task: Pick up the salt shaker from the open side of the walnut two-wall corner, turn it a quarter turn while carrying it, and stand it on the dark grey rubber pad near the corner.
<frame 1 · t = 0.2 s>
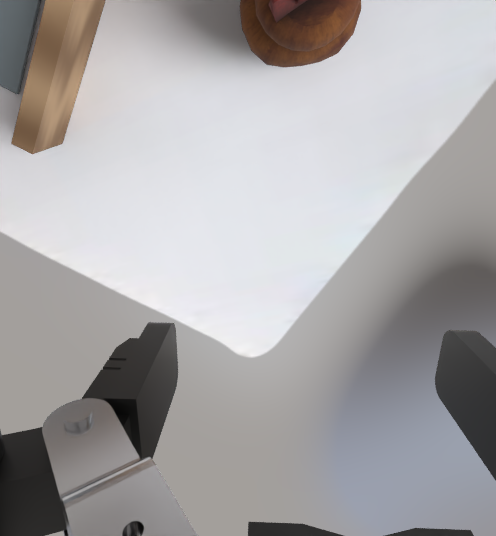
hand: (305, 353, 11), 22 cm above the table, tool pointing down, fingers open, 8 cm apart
wooden figurine: (292, 20, 27), on the table
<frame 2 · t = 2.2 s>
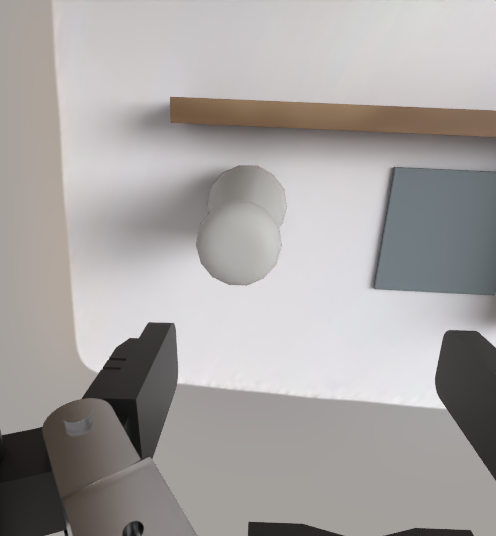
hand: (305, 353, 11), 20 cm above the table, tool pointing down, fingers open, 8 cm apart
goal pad: (446, 233, 31), on the table
wooden l-shaped bracket: (373, 218, 30), on the table
salt shaker: (248, 199, 31), on the table
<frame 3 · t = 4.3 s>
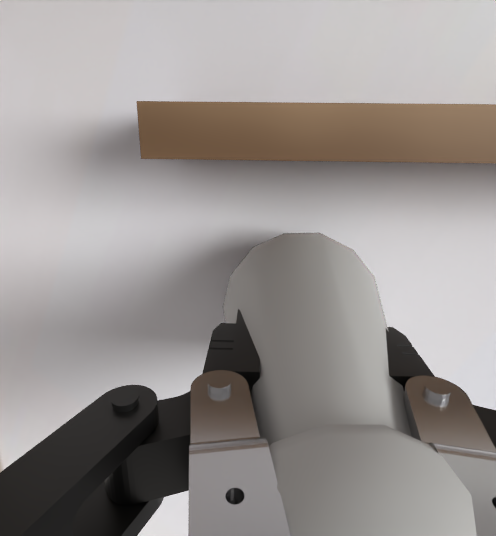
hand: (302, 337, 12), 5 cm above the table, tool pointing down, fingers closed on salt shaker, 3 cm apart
salt shaker: (294, 282, 17), on the table, touching gripper
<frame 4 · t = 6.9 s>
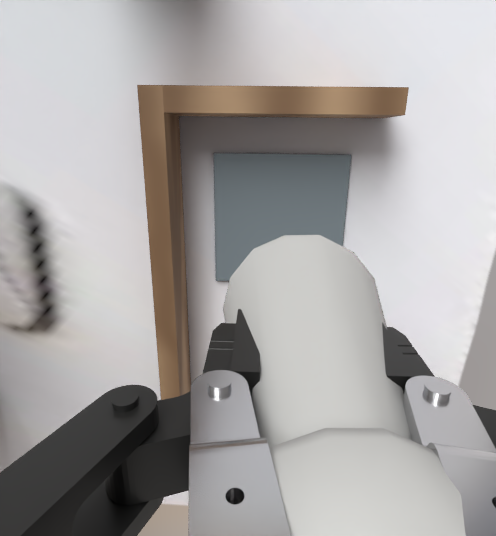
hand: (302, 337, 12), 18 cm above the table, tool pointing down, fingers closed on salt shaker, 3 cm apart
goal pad: (279, 220, 30), on the table
wooden l-shaped bracket: (264, 291, 32), on the table
salt shaker: (294, 283, 17), point 13 cm above the table, touching gripper
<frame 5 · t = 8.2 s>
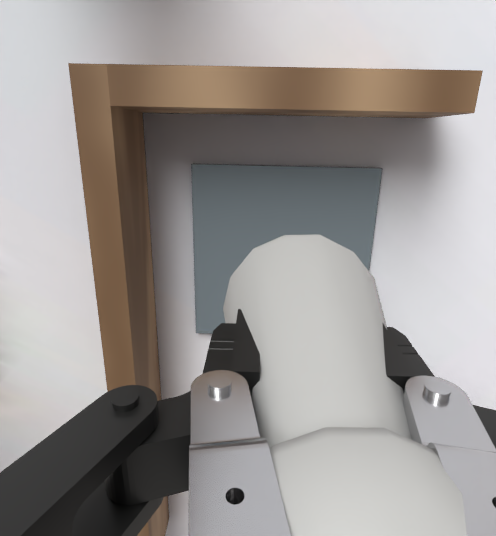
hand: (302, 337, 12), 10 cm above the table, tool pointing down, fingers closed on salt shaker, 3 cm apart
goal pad: (281, 255, 22), on the table
wooden l-shaped bracket: (260, 346, 24), on the table
salt shaker: (294, 283, 17), point 5 cm above the table, touching gripper
when the fingers open (6 cm above the table, at t = 9.3 s): salt shaker drops 1 cm, resting on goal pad.
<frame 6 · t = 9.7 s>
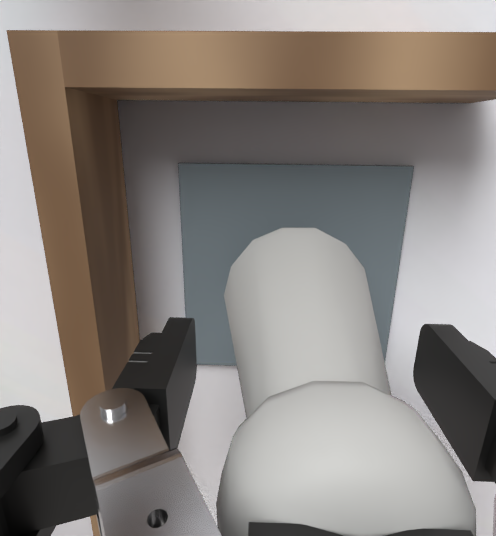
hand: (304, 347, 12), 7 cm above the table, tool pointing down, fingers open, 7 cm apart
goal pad: (289, 272, 18), on the table
wooden l-shaped bracket: (265, 379, 20), on the table
salt shaker: (290, 274, 18), resting on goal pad
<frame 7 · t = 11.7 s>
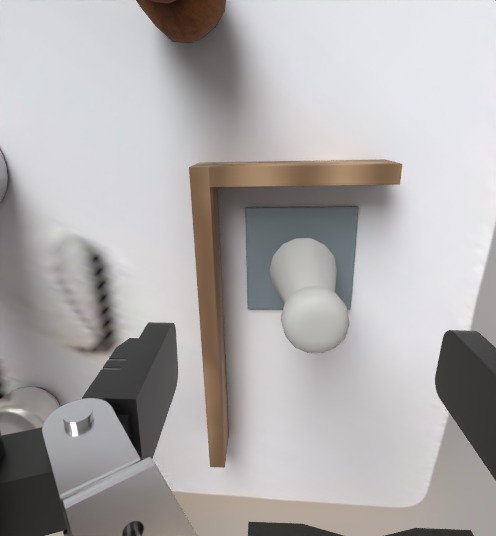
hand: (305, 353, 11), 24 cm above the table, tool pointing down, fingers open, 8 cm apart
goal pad: (299, 259, 36), on the table
wooden l-shaped bracket: (288, 316, 38), on the table
plastic bottle: (40, 401, 43), on the table
salt shaker: (300, 260, 36), resting on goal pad
wooden figurine: (189, 2, 30), on the table
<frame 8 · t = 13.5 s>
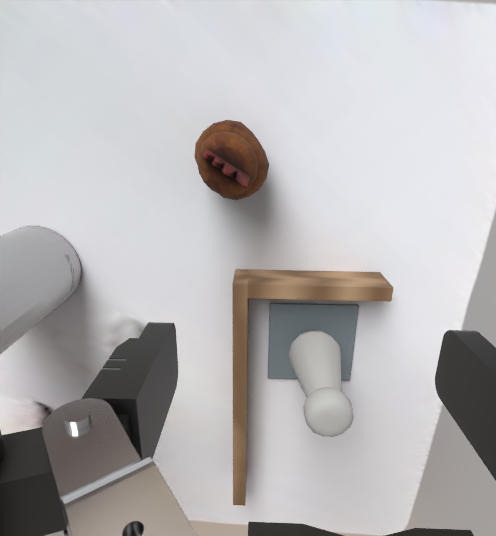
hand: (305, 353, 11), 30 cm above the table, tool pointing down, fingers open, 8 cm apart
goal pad: (311, 342, 45), on the table
wooden l-shaped bracket: (299, 384, 47), on the table
salt shaker: (311, 343, 45), resting on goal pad
wooden figurine: (235, 157, 39), on the table
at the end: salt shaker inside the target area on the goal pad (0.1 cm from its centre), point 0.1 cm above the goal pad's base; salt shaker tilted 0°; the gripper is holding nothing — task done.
